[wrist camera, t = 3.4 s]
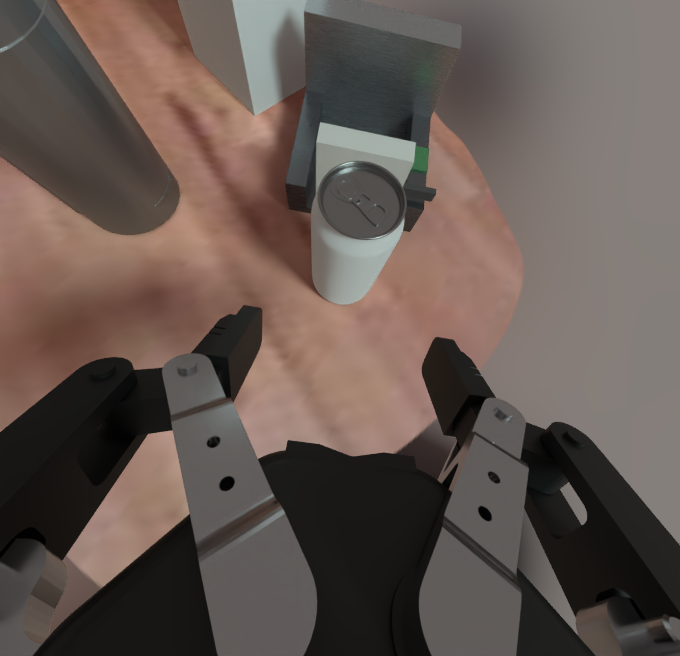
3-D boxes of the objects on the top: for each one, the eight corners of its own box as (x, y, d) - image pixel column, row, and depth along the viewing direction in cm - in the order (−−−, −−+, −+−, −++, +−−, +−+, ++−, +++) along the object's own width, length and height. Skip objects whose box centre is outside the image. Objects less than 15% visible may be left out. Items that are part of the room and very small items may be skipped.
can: (339, 238, 28) (357, 137, 17) (383, 276, 28) (433, 199, 16) (299, 278, 27) (287, 196, 15) (344, 318, 26) (369, 266, 15)
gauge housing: (288, 209, 28) (276, 121, 19) (310, 106, 32) (309, -13, 22) (409, 231, 29) (456, 159, 20) (418, 129, 33) (461, 25, 23)
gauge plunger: (315, 206, 28) (316, 141, 20) (318, 191, 28) (320, 122, 21) (418, 226, 28) (455, 170, 21) (419, 210, 29) (455, 151, 21)
